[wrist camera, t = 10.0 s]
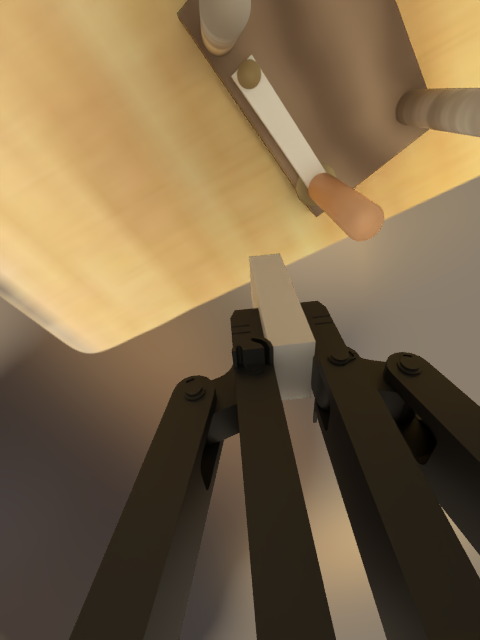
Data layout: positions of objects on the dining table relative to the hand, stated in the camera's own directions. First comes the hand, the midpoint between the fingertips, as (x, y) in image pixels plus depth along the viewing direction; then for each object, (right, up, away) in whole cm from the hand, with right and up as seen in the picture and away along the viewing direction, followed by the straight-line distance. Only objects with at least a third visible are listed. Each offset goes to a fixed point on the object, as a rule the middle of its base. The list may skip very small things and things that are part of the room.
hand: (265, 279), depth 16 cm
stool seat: (+5, +18, +9) cm, 20 cm away
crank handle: (+3, +13, +10) cm, 16 cm away
